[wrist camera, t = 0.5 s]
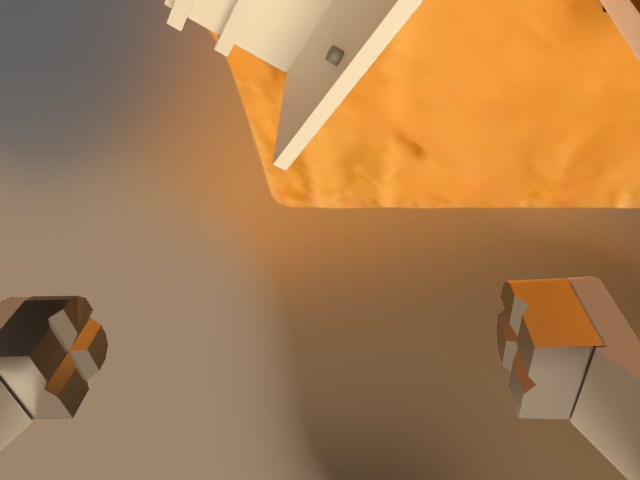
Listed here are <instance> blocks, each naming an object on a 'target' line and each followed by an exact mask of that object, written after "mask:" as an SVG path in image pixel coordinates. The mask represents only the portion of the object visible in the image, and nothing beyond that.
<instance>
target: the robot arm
mask: <svg viewBox="0 0 640 480" xmlns="http://www.w3.org/2000/svg"><path fill="white" fill-rule="evenodd" d="M501 300H502V302H503V306H504V310H503V311H502V312H501V313H499V314H498V319H497V327H496V330H497V345H498V351H499V355H500V359H501V362H502V365H503V366H504V367H505V368H507V369H508V370H509V371H510V372H511V374H510V380H509V385H508V386H509V389H510V392H511V395H512V398H513V402H514V405H515V408H516V411H517V415H518V418H539V419H540V418H541V419H571V423H572V424H573V425H574V426H575V427H576V428H577V429H578V430H579V431H580V432H581V433H582V434H583V435H584V436H585V437H586V438H587V439H588V440H589V441H590V442H591V443H592V444H593V445H594V446H595V447H596V448H597V449H598V450H599V451H600V452H601V453H602V454H603V455H604V456H605V457H606V458H607V459H608V460H609V461H610V462H611V463H612V464H613V465H614V466H615V467H616V468H617V469H618V470H619V471H620V472H621V473H622V474H623V475H624V476H625V477H626V478H627V479H628V480H640V342H639V340H638V339H637V337H636V336H635V334H634V332H633V331H632V329H631V328H630V326H629V324H628V323H627V321H626V320H625V318H624V317H623V315H622V313H621V312H620V311H619V309H618V307H617V306H616V304H615V303H614V301H613V299H612V298H611V296H610V295H609V293H608V292H607V290H606V288H605V287H604V285H603V284H602V282H601V281H600V280H599V279H598V278H596V277H595V276H591V277H572V278H564V279H561V278H560V279H536V280H512V281H505V282H504V284H503V287H502V292H501ZM92 311H93V309H92V308H91V306H90V304H89V302H88V301H87V299H86V298H84V297H80V296H33V297H10V298H8V299H5V300H3V301H1V302H0V450H2V449H3V448H4V447H5V446H6V445H7V444H8V443H9V442H11V441H12V440H13V439H14V438H15V437H16V436H17V435H18V434H19V433H21V432H22V431H23V430H24V429H25V428H26V427H27V426H28V425H29V424H31V423H32V420H33V419H65V418H66V419H68V418H73V417H74V415H75V414H76V412H77V410H78V408H79V406H80V405H81V403H82V401H83V399H84V397H85V396H86V394H87V392H88V390H89V387H88V383H87V380H88V379H89V378H90V377H92V376H93V375H94V374H95V373H97V372H98V371H99V370H100V368H101V366H102V364H103V363H104V361H105V359H106V353H107V347H108V342H107V337H106V333H105V331H104V330H103V327H102V326H101V325H100V324H99V323H97V322H96V321H94V320H93V319H91V318H90V317H91V314H92Z"/></svg>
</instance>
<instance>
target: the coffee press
mask: <svg viewBox="0 0 640 480" xmlns="http://www.w3.org/2000/svg"><path fill="white" fill-rule="evenodd" d="M600 2H601V3H602V5H603V11H604V12H607V13H608V14H609V16H610V17H611V19H612V20H613V22H614V23H615V25H616V27H617V28H618V30H619V31H620V33H621V34H622V36H623V37H624V39H625V40H626V42H627V44H628V45H629V47H630V48H631V50H632V51H633V53H634V54H635V56H636V57H637V59H638V60H639V62H640V0H600Z"/></svg>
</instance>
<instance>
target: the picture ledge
mask: <svg viewBox="0 0 640 480" xmlns="http://www.w3.org/2000/svg"><path fill="white" fill-rule="evenodd" d="M422 1H423V0H166V1H165V5H167V6H168V7H170V8H172V10H171V13H170V16H169V18H168V21H167V24H169V25H171V26H172V27H174V28H176V29H178V30H180V31H181V30H182V28H183V26H184V23H185V21H186V19H187V17H188V18H190V19H191V20H193V21H195V22H197V23H198V24H200V25H202V26H204V27H205V28H207V29H209V30H211V31H213V32H214V33H216V34H218V35H219V36H218V39H217V42H216V45H215V50H216V51H218V52H220V53H222V54H223V55H225V56H227V57H228V55H229V53H230V51H231V49H232V47H233V45H234V44H236V45H237V46H239V47H241V48H243V49H244V50H246V51H248V52H250V53H252V54H253V55H255V56H257V57H259V58H260V59H262V60H264V61H266V62H268V63H269V64H271V65H273V66H275V67H276V68H278V69H280V70H282V71H284V72H285V73H286V79H285V86H284V92H283V99H282V106H281V113H280V120H279V126H278V133H277V140H276V147H275V153H274V160H273V165H275V166H277V167H279V168H281V169H283V170H287V168H288V167H289V166H290V165H291V163H292V162H293V161H294V160H295V159H296V157H297V156H298V155H299V154H300V152H301V151H302V150H303V149H304V147H305V146H306V145H307V144H308V142H309V141H310V140H311V139H312V137H313V136H314V135H315V134H316V133H317V131H318V130H319V129H320V128H321V126H322V125H323V124H324V123H325V121H326V120H327V119H328V118H329V116H330V115H331V114H332V113H333V111H334V110H335V109H336V108H337V107H338V105H339V104H340V103H341V102H342V100H343V99H344V98H345V97H346V95H347V94H348V93H349V92H350V90H351V89H352V88H353V87H354V85H355V84H356V83H357V82H358V81H359V79H360V78H361V77H362V76H363V74H364V73H365V72H366V71H367V69H368V68H369V67H370V66H371V64H372V63H373V62H374V61H375V59H376V58H377V57H378V56H379V55H380V53H381V52H382V51H383V50H384V48H385V47H386V46H387V45H388V43H389V42H390V41H391V40H392V38H393V37H394V36H395V35H396V33H397V32H398V31H399V30H400V29H401V27H402V26H403V25H404V24H405V22H406V21H407V20H408V19H409V17H410V16H411V15H412V14H413V12H414V11H415V10H416V9H417V7H418V6H419V5H420V4H421V3H422Z"/></svg>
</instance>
